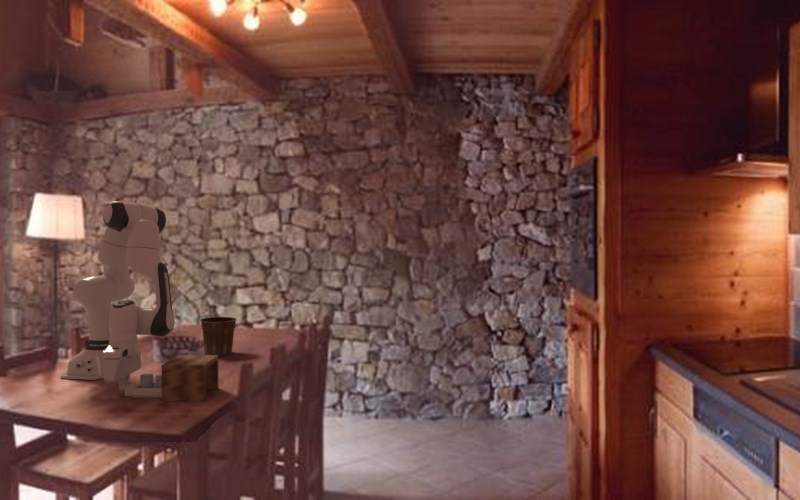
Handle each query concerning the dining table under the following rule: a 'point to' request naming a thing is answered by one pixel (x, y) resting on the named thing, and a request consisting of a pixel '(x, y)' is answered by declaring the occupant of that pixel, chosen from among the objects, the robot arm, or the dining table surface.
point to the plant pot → (218, 335)
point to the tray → (143, 391)
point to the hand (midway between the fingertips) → (123, 388)
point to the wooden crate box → (189, 377)
